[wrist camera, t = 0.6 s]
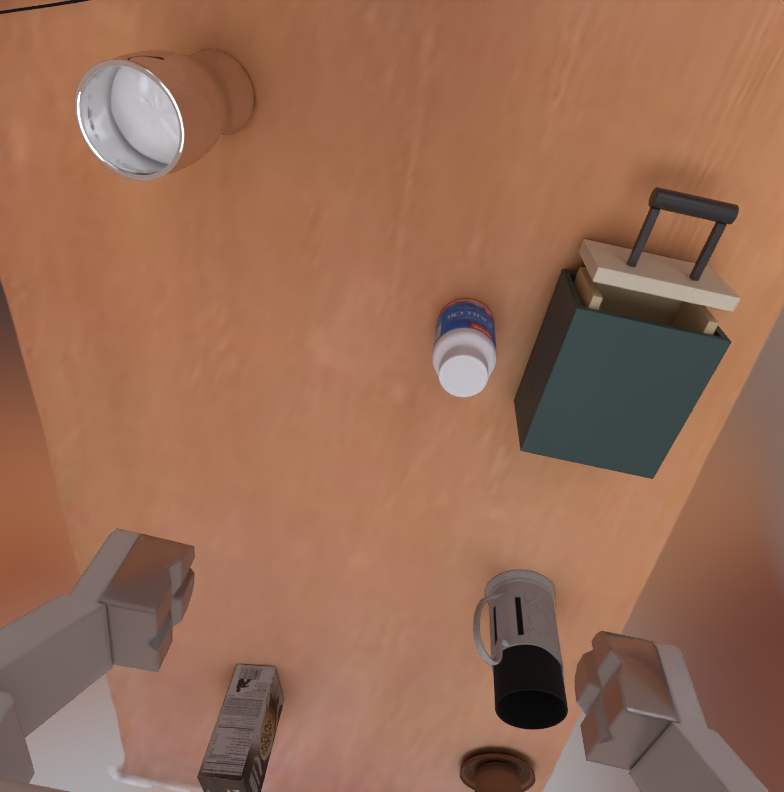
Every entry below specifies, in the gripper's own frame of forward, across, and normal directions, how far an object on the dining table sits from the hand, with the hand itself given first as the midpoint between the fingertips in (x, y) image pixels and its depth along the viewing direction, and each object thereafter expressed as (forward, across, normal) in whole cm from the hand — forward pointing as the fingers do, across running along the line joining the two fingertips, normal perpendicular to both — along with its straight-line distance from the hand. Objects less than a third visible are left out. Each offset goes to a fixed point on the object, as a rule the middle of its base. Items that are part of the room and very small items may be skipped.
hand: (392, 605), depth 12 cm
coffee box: (+44, +9, +80) cm, 92 cm away
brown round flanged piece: (+44, -31, +90) cm, 105 cm away
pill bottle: (+44, -5, +14) cm, 46 cm away
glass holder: (+44, -20, +47) cm, 67 cm away
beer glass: (+44, +19, -1) cm, 48 cm away
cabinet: (+44, -18, +14) cm, 49 cm away
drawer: (+43, -18, +8) cm, 47 cm away
